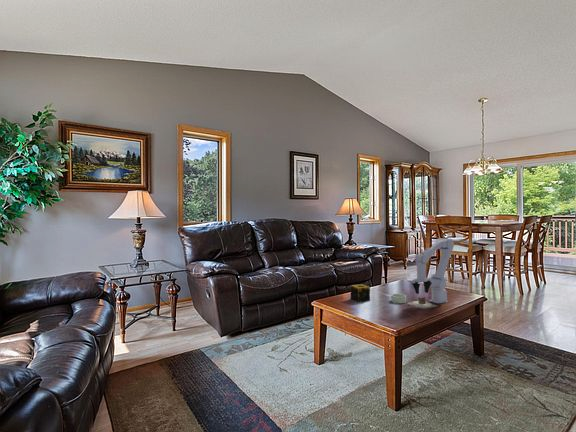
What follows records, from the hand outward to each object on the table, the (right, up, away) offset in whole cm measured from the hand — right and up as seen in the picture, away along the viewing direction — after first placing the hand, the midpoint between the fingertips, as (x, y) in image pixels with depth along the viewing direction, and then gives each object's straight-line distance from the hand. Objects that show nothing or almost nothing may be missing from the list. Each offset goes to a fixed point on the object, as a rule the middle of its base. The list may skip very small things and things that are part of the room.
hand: (421, 293), depth 212 cm
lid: (0, -8, 0) cm, 8 cm away
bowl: (-12, -8, +8) cm, 17 cm away
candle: (-37, -9, +15) cm, 41 cm away
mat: (0, -8, 0) cm, 8 cm away
